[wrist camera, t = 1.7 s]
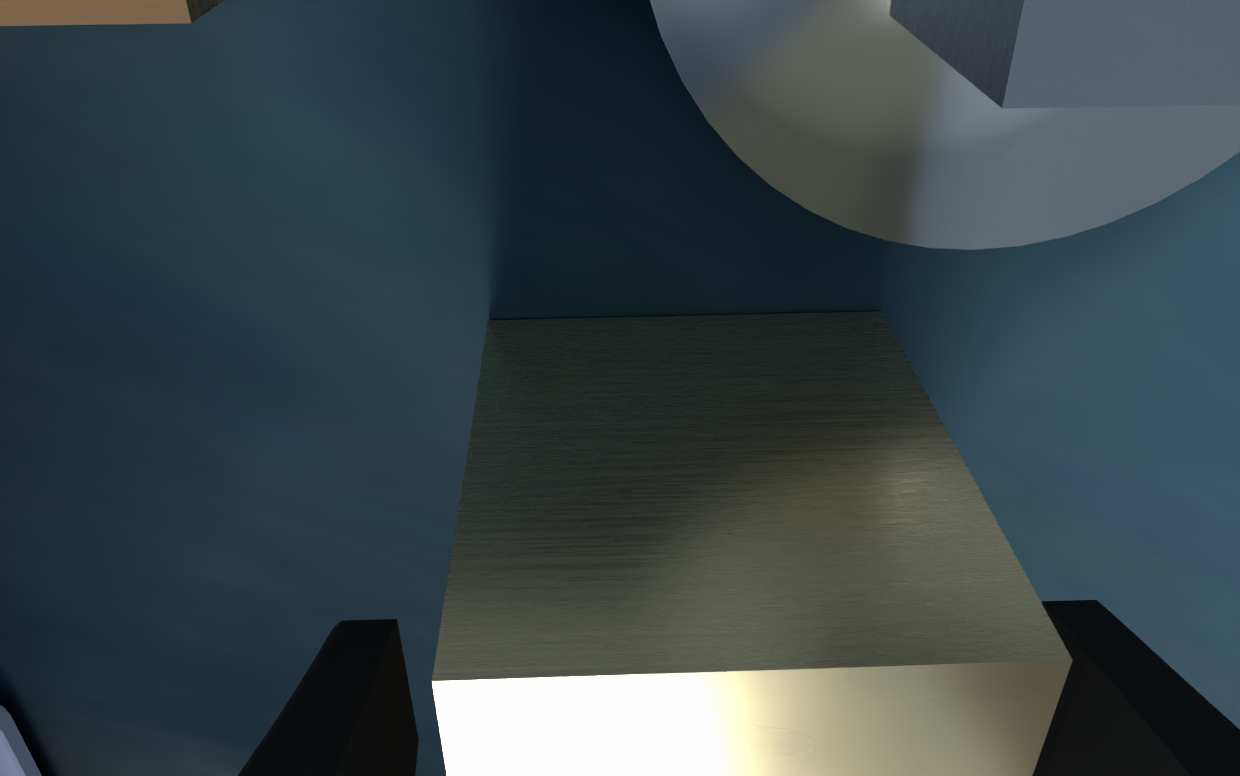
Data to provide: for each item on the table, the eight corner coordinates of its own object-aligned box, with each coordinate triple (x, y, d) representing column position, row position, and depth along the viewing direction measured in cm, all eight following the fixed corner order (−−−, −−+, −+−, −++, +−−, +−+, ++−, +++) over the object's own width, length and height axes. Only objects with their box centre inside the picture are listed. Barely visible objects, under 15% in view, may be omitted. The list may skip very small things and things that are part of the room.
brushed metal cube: (837, 595, 16) (959, 988, 11) (513, 606, 16) (483, 1007, 11) (881, 311, 13) (1072, 660, 8) (488, 320, 13) (431, 681, 8)
